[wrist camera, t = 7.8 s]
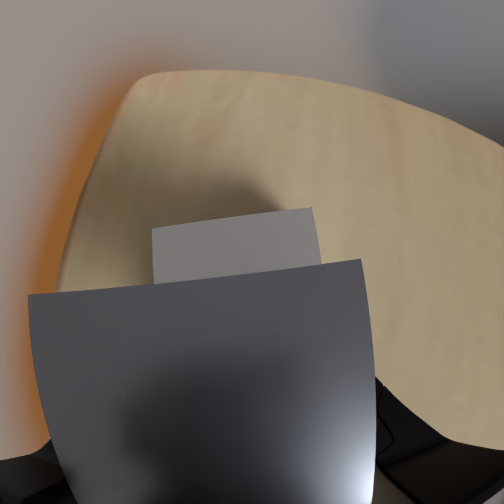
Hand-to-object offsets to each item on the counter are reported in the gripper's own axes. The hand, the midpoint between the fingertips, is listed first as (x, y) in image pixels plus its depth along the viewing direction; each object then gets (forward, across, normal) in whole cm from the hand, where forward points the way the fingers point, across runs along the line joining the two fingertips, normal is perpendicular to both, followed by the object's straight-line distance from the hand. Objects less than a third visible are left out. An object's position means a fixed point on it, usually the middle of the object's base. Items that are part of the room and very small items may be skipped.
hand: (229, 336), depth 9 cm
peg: (+4, 0, +6) cm, 7 cm away
